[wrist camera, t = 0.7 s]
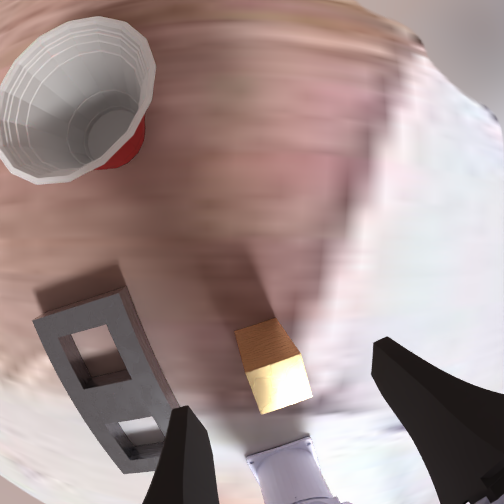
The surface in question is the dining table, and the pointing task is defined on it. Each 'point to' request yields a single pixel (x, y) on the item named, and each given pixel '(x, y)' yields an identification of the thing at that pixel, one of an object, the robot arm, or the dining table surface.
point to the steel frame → (110, 375)
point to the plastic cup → (76, 101)
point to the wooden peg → (272, 366)
